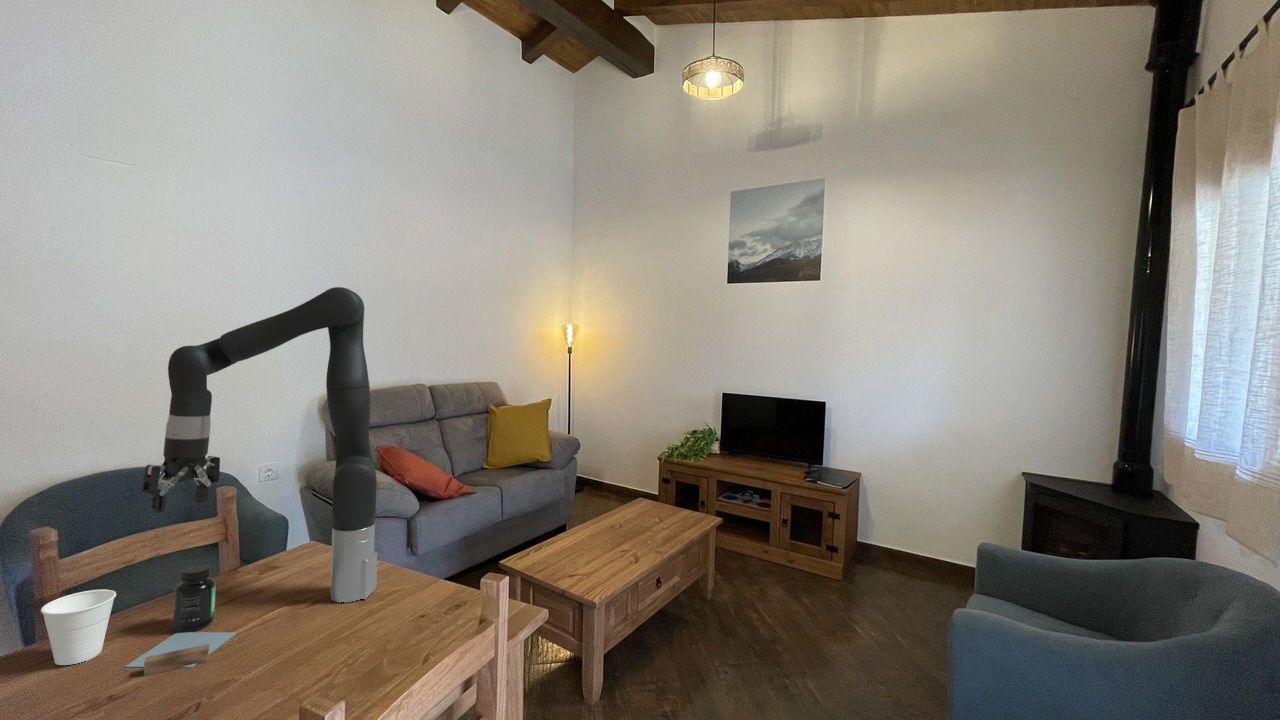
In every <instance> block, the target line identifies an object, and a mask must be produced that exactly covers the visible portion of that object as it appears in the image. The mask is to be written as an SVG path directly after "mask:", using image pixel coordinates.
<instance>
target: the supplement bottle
mask: <svg viewBox="0 0 1280 720" xmlns="http://www.w3.org/2000/svg"><path fill="white" fill-rule="evenodd" d="M180 574H181V575H180V581H181V582H180V583H178V584H177V585H176V587H175V588H174V593H173V609H172V610H173V614H172V615H173V616H172V629H173V630H174V631H175V632H176V633H177V632H196V631H198V630H201V629H204V628H206V627H208V626H210V625H211V624H212V623H213V622H214V620H215V613H216V612H215V611H216V609H215V608H216V606H215V605H216V589H217V587H216V586H217V583H216V581H215V579H214V578H212V577H211V574H212V573H211V566H210V565H208V564H206V565H204V564H203V565H202V564H201V565H199V564H198V565H194V566H189V567H187V568H184V569H183V570H182V571H181V573H180Z"/></svg>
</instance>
